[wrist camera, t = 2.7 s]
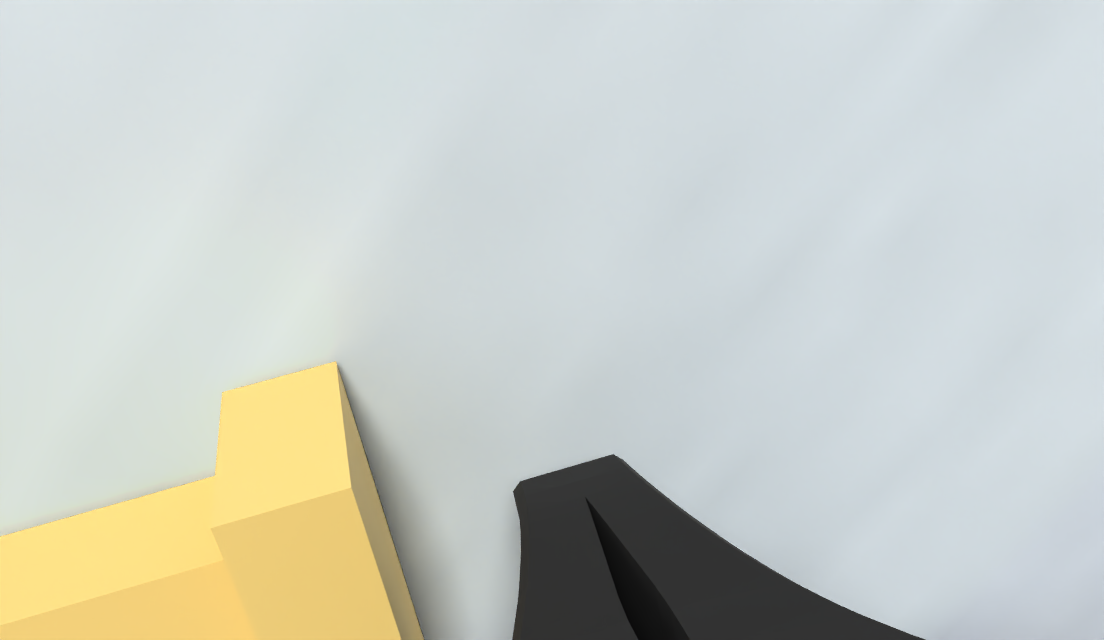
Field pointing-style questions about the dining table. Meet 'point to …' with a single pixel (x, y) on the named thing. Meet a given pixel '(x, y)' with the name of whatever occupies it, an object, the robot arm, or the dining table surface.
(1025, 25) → the dining table surface
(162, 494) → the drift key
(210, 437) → the dining table surface
